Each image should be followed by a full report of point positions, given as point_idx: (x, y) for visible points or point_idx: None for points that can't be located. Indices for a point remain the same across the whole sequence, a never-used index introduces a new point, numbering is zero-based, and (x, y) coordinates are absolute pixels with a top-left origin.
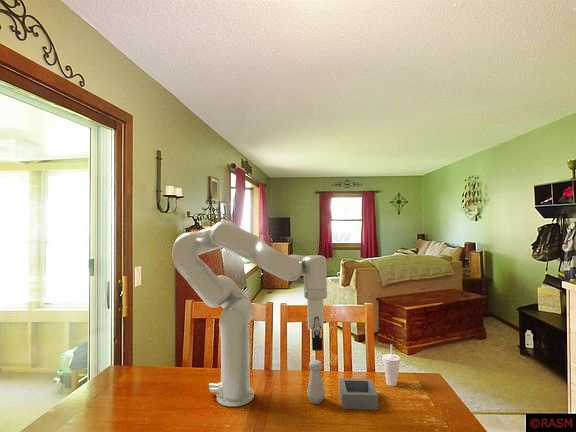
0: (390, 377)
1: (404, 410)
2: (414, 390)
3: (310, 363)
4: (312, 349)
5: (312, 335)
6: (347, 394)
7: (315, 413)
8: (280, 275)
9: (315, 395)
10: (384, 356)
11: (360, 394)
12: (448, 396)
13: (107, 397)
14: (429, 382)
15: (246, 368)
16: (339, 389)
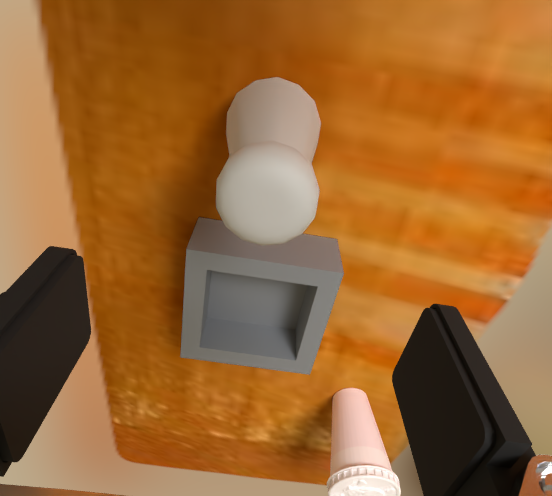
0: (335, 418)
1: (186, 375)
2: (294, 429)
3: (251, 161)
4: (47, 250)
5: (441, 347)
6: (187, 266)
7: (161, 92)
8: None
9: (227, 121)
10: (379, 481)
11: (186, 309)
12: (251, 470)
13: None
14: (330, 467)
15: None
16: (337, 243)
